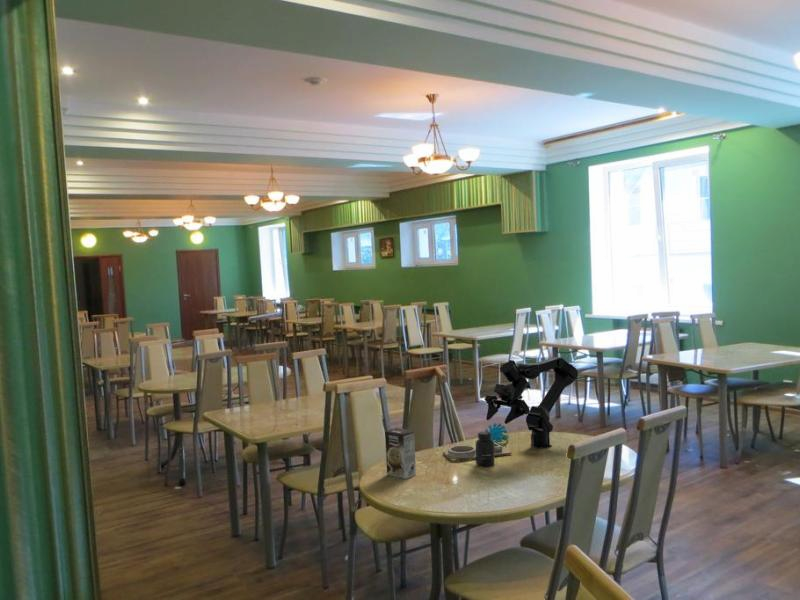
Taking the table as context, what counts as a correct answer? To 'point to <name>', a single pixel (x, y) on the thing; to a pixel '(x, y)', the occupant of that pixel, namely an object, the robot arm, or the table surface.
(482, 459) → the supplement bottle
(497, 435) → the gear
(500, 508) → the table surface
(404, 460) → the coffee box
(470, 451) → the socket board
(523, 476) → the table surface
